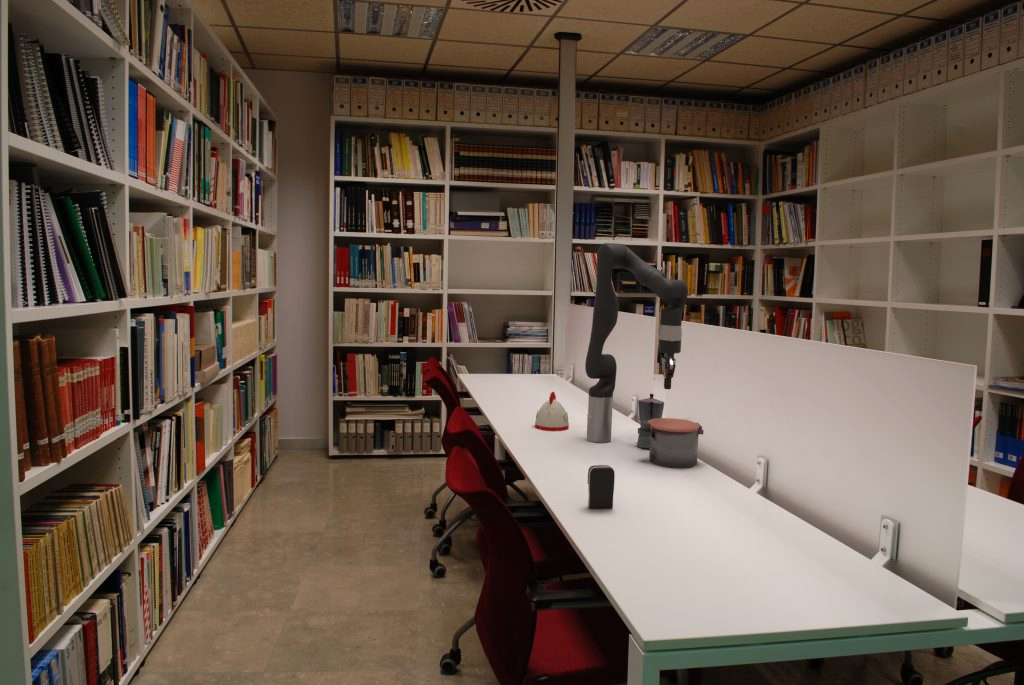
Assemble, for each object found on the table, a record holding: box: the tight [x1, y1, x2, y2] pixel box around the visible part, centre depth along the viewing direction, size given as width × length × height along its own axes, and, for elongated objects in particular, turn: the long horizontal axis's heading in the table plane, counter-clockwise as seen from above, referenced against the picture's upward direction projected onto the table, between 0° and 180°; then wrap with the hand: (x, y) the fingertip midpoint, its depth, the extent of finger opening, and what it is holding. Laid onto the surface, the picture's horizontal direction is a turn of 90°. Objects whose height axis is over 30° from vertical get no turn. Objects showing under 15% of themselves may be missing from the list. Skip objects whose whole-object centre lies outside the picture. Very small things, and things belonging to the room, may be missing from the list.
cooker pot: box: [637, 427, 704, 469], centre depth 239 cm, size 21×16×12 cm
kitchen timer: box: [534, 391, 570, 432], centre depth 289 cm, size 14×14×15 cm
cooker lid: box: [642, 417, 703, 432], centre depth 238 cm, size 20×17×1 cm
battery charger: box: [587, 464, 616, 509], centre depth 190 cm, size 7×4×11 cm, turn 98°
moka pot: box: [636, 393, 665, 450], centre depth 259 cm, size 10×15×20 cm, turn 174°
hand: (667, 388), depth 239 cm, fingers closed
